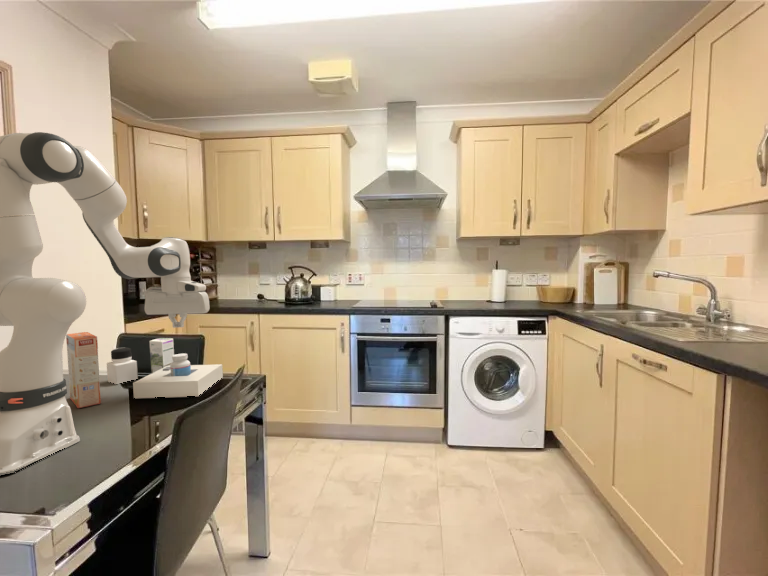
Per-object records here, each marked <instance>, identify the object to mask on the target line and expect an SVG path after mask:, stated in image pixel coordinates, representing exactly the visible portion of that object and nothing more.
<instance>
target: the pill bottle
mask: <svg viewBox="0 0 768 576" xmlns="http://www.w3.org/2000/svg"><path fill="white" fill-rule="evenodd" d="M188 358H189V356H188V353H186V352H185V353H183V352H182V353H178V354H174V355H173V356H172V360H173V362H172V363H171V365H170V370H171V376H188V375H190V374H191V366H190V365H191V362H190V360H188Z"/></svg>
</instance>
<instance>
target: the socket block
mask: <svg viewBox="0 0 768 576" xmlns="http://www.w3.org/2000/svg"><path fill="white" fill-rule="evenodd" d="M190 366H191V374H190V375H188V376H171V370H170V366H166V367H164V368H162V369H160V370H158V371H156V372H154V373H152V372H151V373H150V374H148V375H146V376H144V377H142V378H140V379H138V380H135V381H133V382H132V389H133V390H132V391H133V399H134V398H135V399H158V398H157V397H165V398H188V397H187V396H195V397H200V396H201V395H202V394H204V393H205V392H206V391H207V390H209V389H210V388H211V387H213V386H214V385H215V384H217V383H218V382H219V381H220V380H222V379H223V378H224V374H223V373H224V371H223V364H222V363H221V364H216V363H215V364H190ZM221 378H222V379H221ZM218 380H219V381H218ZM217 381H218V382H217ZM216 382H217V383H216ZM214 383H215V384H214ZM213 384H214V385H213ZM212 385H213V386H212ZM209 387H210V388H209ZM208 388H209V389H208ZM205 390H206V391H205ZM204 391H205V392H204ZM203 392H204V393H203ZM200 394H201V395H200ZM199 395H200V396H199ZM155 397H156V398H155Z"/></svg>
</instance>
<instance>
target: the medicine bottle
mask: <svg viewBox="0 0 768 576" xmlns="http://www.w3.org/2000/svg"><path fill="white" fill-rule="evenodd" d="M110 356H111V361H109V362H107V363H106V373H107V377H106V378H107V382H108V383H110V382H111V383H110V384H113V383H114V384H113V385H116V384H118V385H120V384H119V383H122V384H124V383H123V382H126V383H128V382H127V381H130V382H132V381H131V380H134V381H137V380H136V379H138V380H139V373H138V370H139V369H138V361H137V360H134V359H132V348H130V347H118V348H114V349H112V350H111V351H110Z"/></svg>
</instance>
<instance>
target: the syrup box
mask: <svg viewBox="0 0 768 576" xmlns="http://www.w3.org/2000/svg"><path fill="white" fill-rule="evenodd" d="M148 342H149V354H150V355H149V356H150V370H151V371H150V372H151V374H152V373H154V372H156V371H158V370H160V369H162V368H164V367H166V366H170V365H171V363H172V362H173V360H172V356H173V355H175V349H174V345H175V343H174V338H171V337H169V338H168V337H166V338H165V337H159V338H158V337H157V338H155V339H152V340H149V341H148Z"/></svg>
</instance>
